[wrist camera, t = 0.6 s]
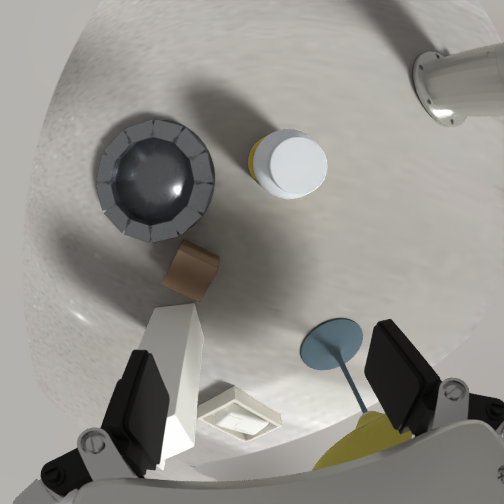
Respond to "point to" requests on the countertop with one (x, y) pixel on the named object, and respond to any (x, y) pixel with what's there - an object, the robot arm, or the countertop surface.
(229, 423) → the soap
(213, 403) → the soap dish
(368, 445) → the cocktail glass
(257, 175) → the pill bottle
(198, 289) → the walnut block
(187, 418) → the milk
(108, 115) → the countertop surface
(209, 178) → the collar
